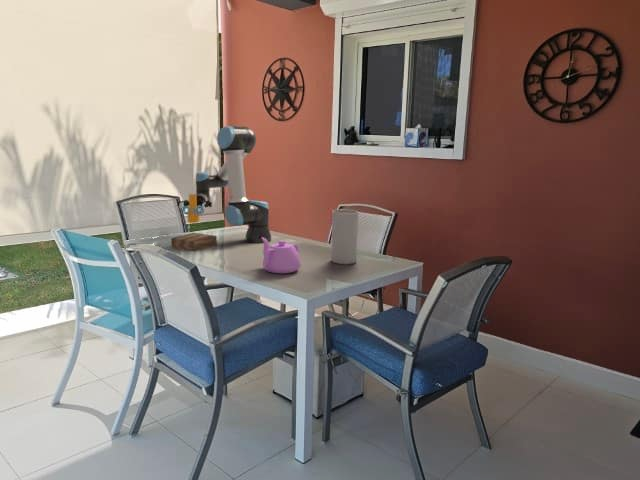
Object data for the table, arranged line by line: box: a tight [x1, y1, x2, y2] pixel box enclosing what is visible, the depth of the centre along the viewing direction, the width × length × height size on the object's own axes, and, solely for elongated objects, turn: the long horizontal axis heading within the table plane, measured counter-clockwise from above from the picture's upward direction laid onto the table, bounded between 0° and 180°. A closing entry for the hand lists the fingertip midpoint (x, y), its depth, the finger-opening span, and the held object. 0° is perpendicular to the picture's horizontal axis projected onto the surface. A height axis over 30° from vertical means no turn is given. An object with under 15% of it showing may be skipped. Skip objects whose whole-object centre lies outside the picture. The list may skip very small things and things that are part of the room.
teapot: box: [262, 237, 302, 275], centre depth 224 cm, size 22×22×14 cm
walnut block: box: [170, 232, 218, 252], centre depth 267 cm, size 16×18×5 cm
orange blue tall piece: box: [181, 193, 205, 224], centre depth 266 cm, size 12×10×15 cm
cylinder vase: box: [330, 209, 359, 265], centre depth 239 cm, size 12×12×25 cm
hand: (191, 206), depth 262 cm, fingers closed on orange blue tall piece, 11 cm apart
